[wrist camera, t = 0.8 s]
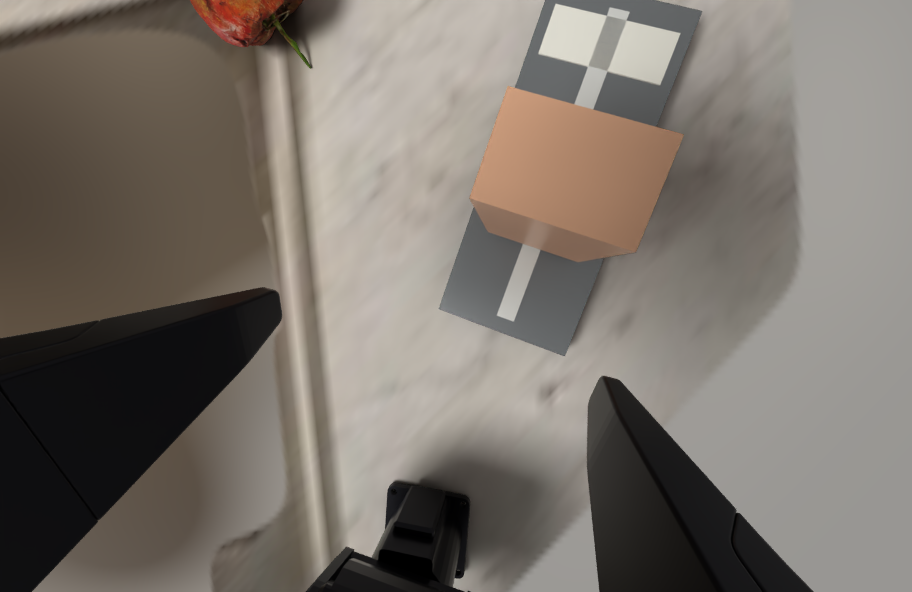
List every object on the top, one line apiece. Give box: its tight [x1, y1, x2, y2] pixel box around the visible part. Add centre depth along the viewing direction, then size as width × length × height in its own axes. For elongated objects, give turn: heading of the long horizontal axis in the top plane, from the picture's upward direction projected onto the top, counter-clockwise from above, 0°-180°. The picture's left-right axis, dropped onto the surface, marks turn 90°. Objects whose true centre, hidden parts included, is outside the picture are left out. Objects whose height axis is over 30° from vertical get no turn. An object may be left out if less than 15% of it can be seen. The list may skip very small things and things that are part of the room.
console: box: [439, 0, 702, 356], centre depth 22 cm, size 22×9×2 cm, turn 160°
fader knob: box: [470, 86, 684, 262], centre depth 16 cm, size 4×6×10 cm, turn 71°
